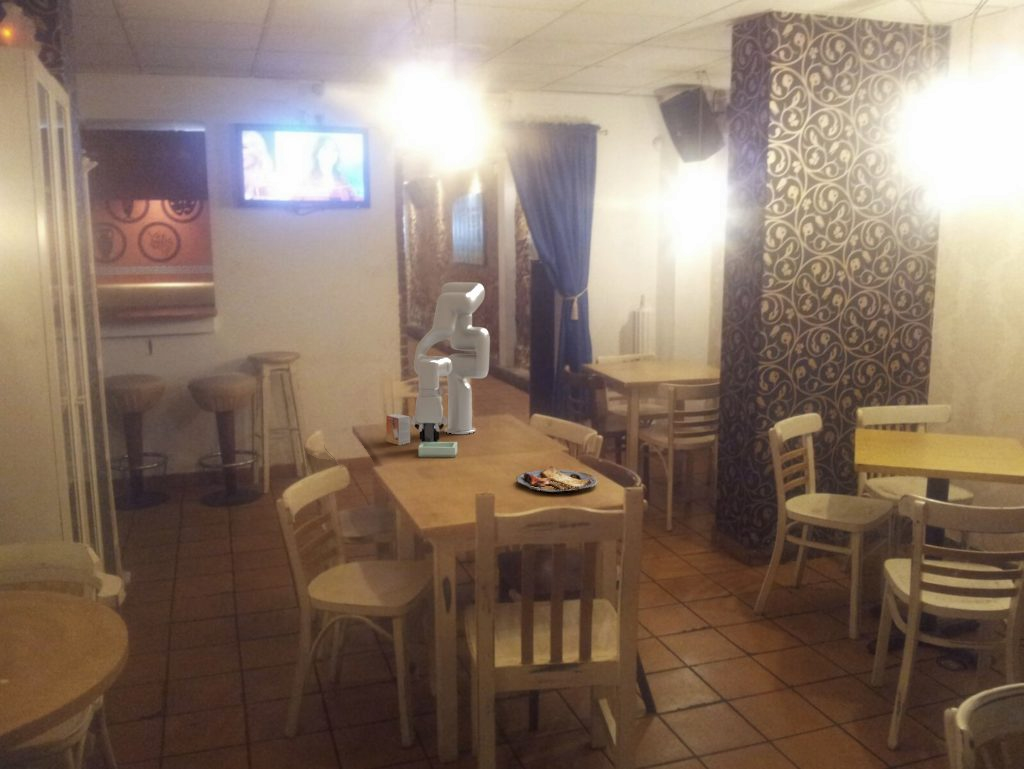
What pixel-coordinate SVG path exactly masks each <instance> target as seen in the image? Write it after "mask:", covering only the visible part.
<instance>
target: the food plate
mask: <svg viewBox="0 0 1024 769" xmlns="http://www.w3.org/2000/svg"><path fill="white" fill-rule="evenodd" d="M515 480H516V482H517V483H519V484H521V485H524V486H526V487H528V488H529V489H530V490H532V489H533V490H532V491H538V492H539V491H540V490H541V492H550V493H565V492H564V491H569V492H573V491H572V490H574V491H579V490H582V489H587V488H591V487H594V486H595V485H596V484H597V483H598V480H597V478H595V476H593V475H591V474H590V473H585V472H581V471H576V470H569V469H556V468H555V467H554V466H552V465H550V466H549V467H546V468H545V469H537V470H530V471H526V472H523V473H521V474H519V475H517V476H516V478H515ZM550 481H552V482H553V481H554V482H557V483H561V484H557V483H551V482H550ZM563 484H564V485H563ZM567 485H568V486H567ZM586 485H587V486H586ZM531 486H534V487H539V488H541V487H545V486H552V487H554V488H556V489H559V490H556V489H555V490H553V489H552V490H547V489H539V488H534V487H531ZM569 486H571V487H575V488H578V489H579V490H578V489H574V488H570V487H569ZM569 489H571V490H569Z"/></svg>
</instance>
